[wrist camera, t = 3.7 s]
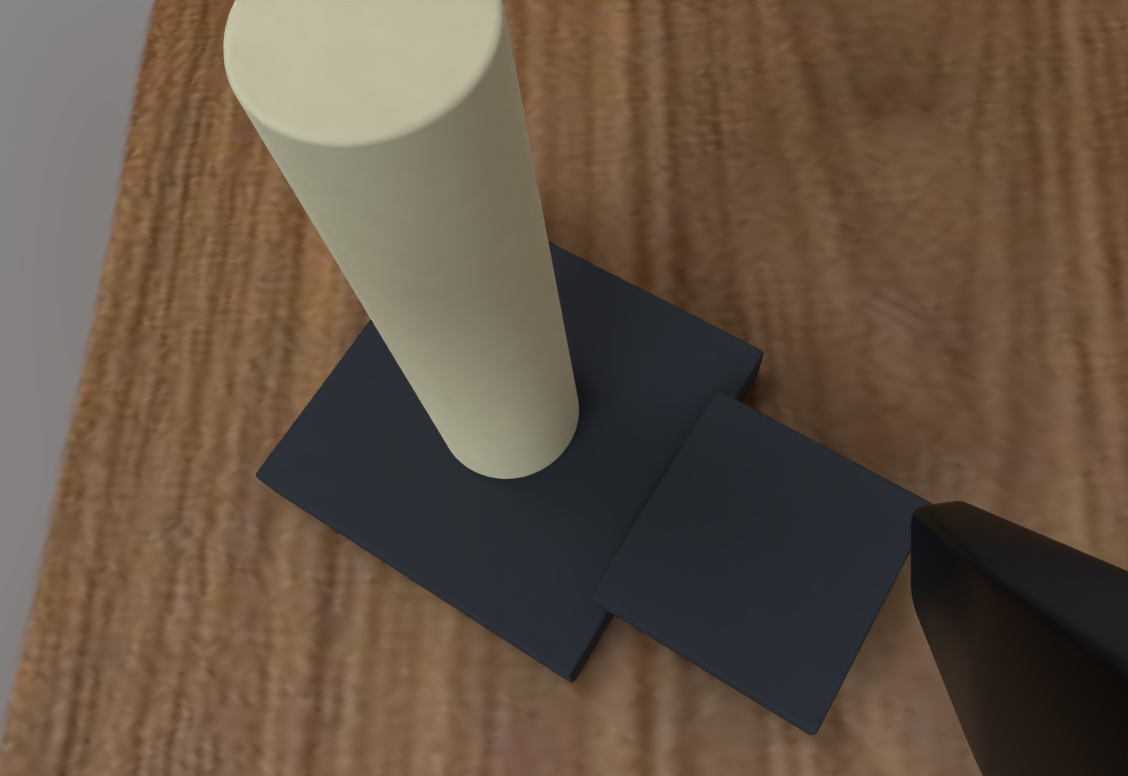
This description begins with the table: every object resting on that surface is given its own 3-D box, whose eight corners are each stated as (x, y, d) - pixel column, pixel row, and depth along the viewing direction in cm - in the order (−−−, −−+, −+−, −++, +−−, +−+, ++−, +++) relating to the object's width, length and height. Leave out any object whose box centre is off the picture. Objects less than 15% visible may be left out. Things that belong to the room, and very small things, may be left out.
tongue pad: (942, 467, 21) (1325, 56, 9) (765, 808, 19) (965, 857, 7) (470, 222, 24) (296, -319, 12) (273, 490, 22) (-171, 148, 10)
